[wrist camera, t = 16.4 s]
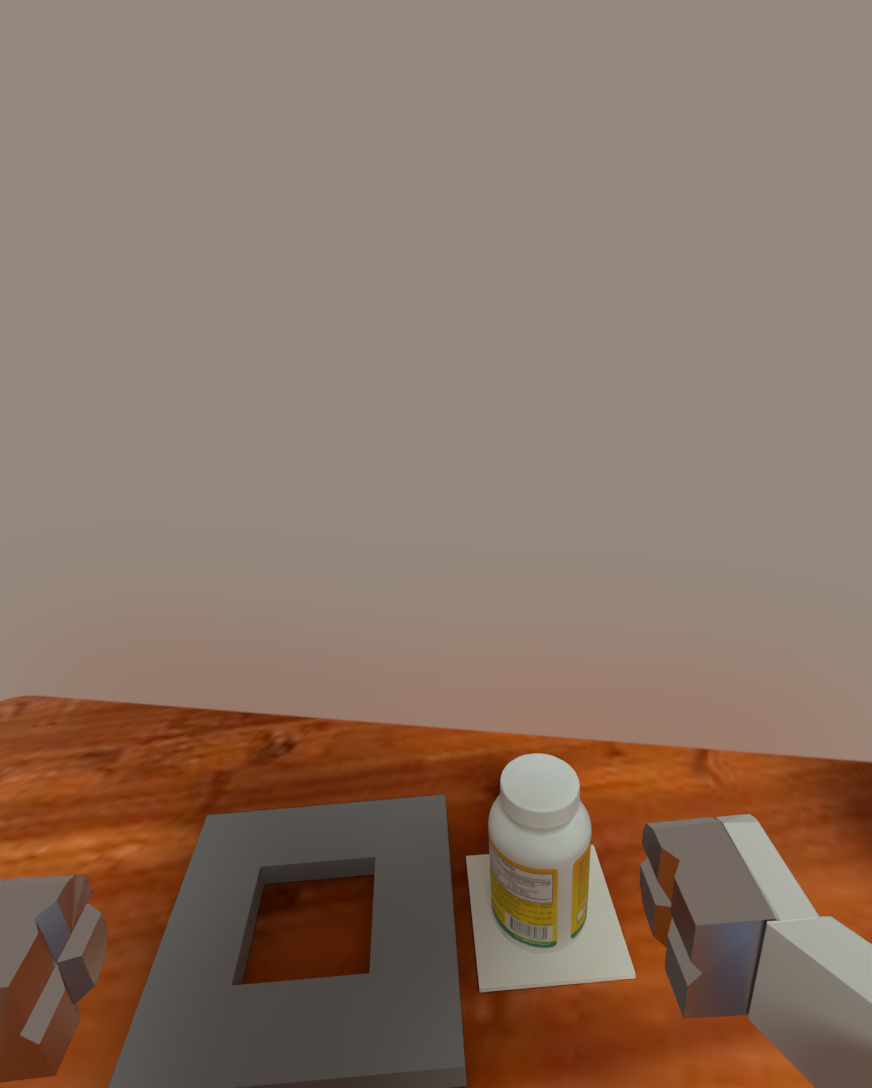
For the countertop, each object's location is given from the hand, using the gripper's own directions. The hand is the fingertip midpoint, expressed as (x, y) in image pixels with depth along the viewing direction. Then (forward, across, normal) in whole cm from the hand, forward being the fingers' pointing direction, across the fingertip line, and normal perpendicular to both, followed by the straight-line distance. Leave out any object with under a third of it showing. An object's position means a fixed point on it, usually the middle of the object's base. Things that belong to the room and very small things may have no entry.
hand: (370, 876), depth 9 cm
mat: (+18, -6, +26) cm, 32 cm away
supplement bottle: (+18, -6, +26) cm, 32 cm away
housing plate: (+18, +7, +26) cm, 32 cm away
